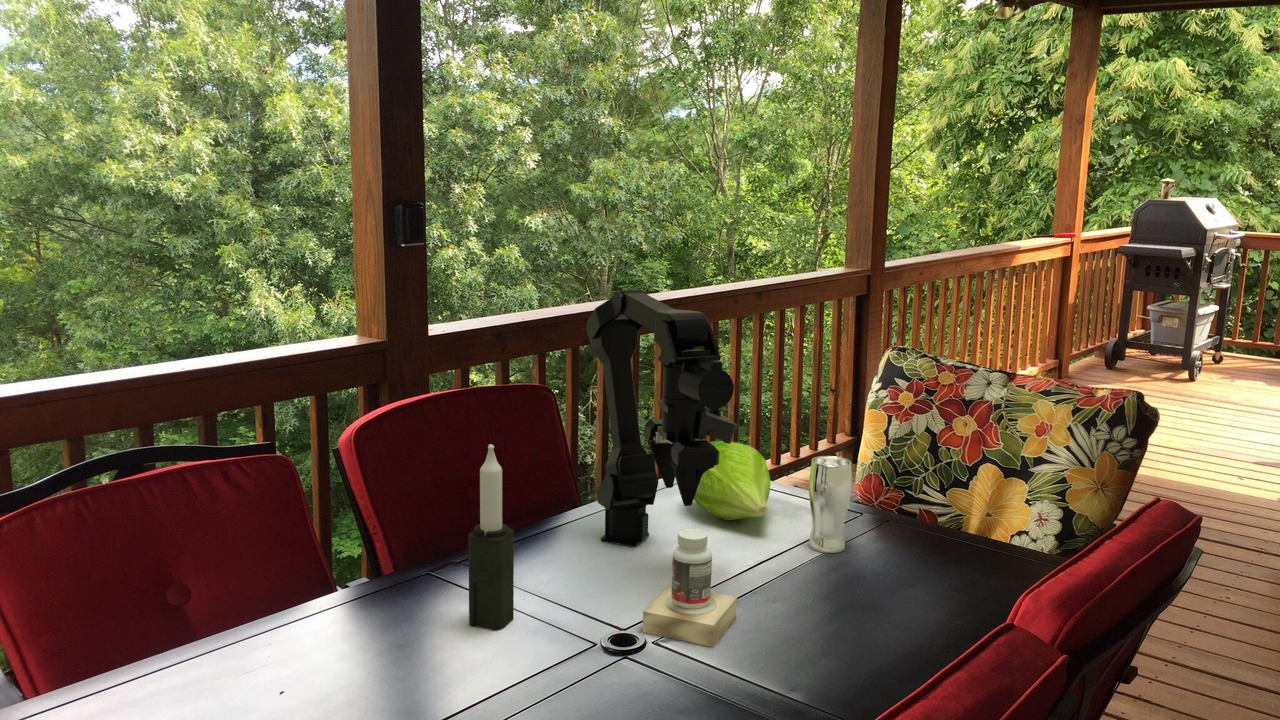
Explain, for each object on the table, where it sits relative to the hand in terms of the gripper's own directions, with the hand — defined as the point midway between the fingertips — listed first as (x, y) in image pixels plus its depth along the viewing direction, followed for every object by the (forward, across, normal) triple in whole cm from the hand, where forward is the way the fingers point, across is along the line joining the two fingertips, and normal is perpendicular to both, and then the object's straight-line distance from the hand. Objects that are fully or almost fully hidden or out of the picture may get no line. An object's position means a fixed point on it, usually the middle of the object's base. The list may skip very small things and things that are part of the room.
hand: (678, 496), depth 151 cm
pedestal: (+13, -17, +3) cm, 21 cm away
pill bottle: (+10, -16, +3) cm, 20 cm away
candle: (+13, -10, +30) cm, 34 cm away
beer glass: (+13, +7, -29) cm, 33 cm away
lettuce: (+13, +25, -19) cm, 34 cm away
